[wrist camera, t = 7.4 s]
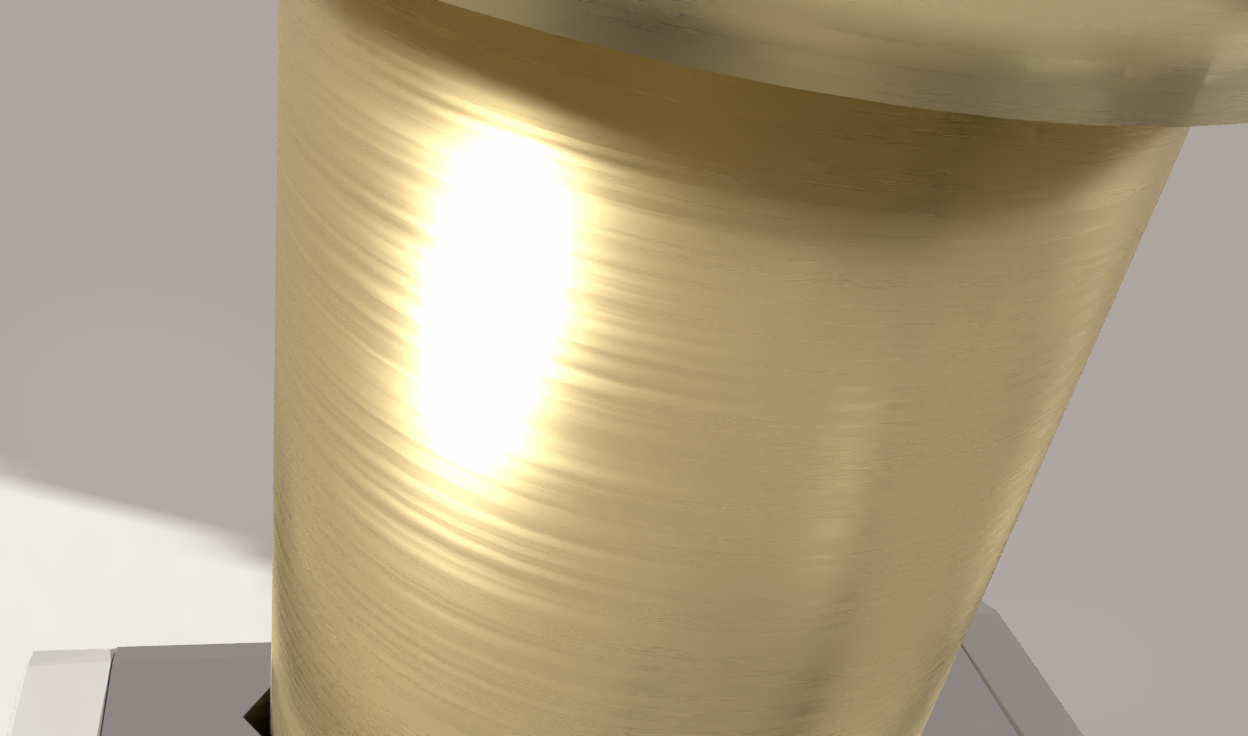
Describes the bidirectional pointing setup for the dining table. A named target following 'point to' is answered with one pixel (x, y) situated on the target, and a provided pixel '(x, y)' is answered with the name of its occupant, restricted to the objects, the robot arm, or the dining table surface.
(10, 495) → the dining table surface
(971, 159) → the pin
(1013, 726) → the robot arm
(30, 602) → the dining table surface
